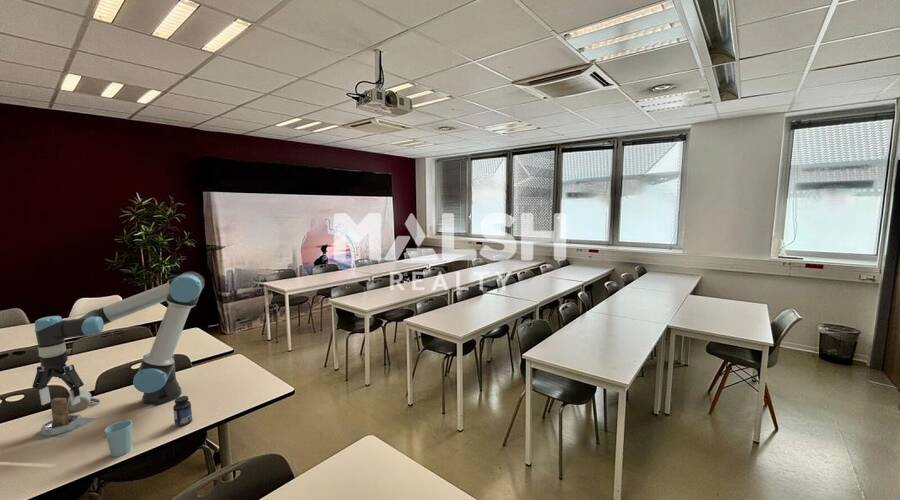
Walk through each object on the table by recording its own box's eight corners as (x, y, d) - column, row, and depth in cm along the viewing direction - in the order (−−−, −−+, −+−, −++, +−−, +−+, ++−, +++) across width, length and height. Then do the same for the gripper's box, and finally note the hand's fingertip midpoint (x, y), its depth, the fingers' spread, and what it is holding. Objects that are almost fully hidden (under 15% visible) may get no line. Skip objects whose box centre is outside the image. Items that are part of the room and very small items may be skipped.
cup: (107, 451, 138) (105, 425, 137) (134, 443, 143) (132, 418, 142) (106, 461, 132) (103, 434, 131) (134, 452, 137) (132, 426, 136)
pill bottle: (195, 418, 160) (193, 394, 159) (187, 426, 154) (185, 401, 153) (179, 419, 159) (177, 395, 158) (171, 427, 153) (169, 402, 152)
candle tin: (64, 420, 158) (64, 413, 158) (88, 420, 157) (87, 413, 157) (34, 435, 147) (33, 428, 147) (59, 436, 146) (58, 428, 146)
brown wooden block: (59, 424, 153) (56, 397, 152) (69, 425, 153) (66, 398, 152) (53, 428, 151) (50, 400, 150) (63, 428, 151) (60, 400, 150)
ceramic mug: (67, 415, 163) (66, 399, 162) (68, 408, 169) (67, 392, 168) (100, 407, 170) (99, 391, 170) (100, 400, 176) (99, 385, 176)
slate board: (97, 419, 160) (97, 417, 160) (61, 439, 146) (61, 437, 146) (70, 418, 161) (70, 416, 160) (31, 438, 147) (31, 436, 147)
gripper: (91, 350, 152) (98, 399, 154) (36, 350, 154) (44, 398, 156) (71, 358, 144) (78, 408, 147) (14, 358, 146) (22, 408, 149)
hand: (61, 403), depth 151 cm, fingers open, 13 cm apart
